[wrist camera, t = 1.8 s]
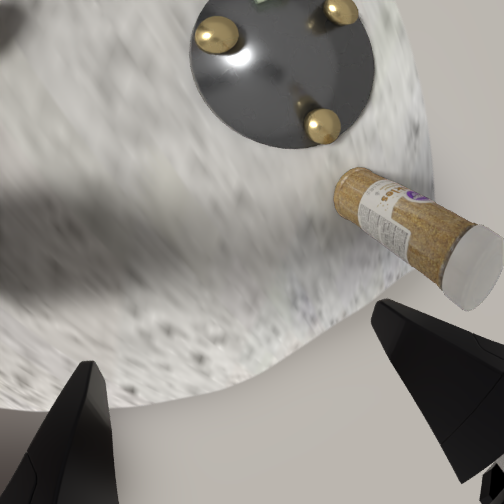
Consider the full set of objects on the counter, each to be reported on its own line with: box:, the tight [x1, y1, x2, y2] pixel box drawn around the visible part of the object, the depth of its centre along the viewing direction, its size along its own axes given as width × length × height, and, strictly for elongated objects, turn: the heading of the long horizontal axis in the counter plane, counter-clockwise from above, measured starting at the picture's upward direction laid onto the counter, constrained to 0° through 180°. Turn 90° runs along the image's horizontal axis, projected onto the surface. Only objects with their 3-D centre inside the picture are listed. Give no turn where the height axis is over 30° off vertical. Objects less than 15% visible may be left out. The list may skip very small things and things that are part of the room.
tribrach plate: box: [189, 0, 374, 149], centre depth 15 cm, size 13×13×2 cm
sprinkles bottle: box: [334, 167, 504, 311], centre depth 17 cm, size 5×5×13 cm
